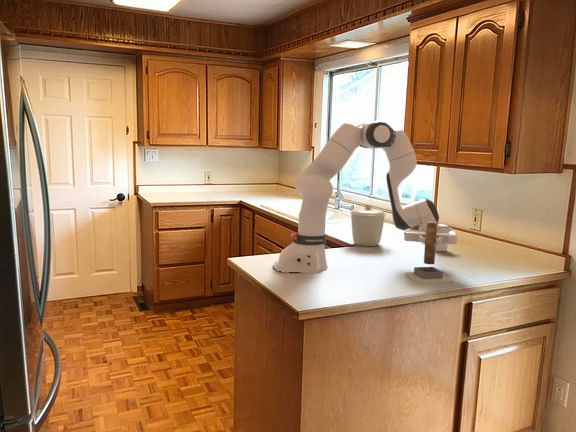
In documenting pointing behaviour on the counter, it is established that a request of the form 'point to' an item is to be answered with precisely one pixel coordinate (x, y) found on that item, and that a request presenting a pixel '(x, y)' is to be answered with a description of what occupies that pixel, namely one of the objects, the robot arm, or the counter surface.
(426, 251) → the walnut dowel
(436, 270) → the dowel holder
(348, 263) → the counter surface
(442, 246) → the supplement box
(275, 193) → the counter surface
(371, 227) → the canister
